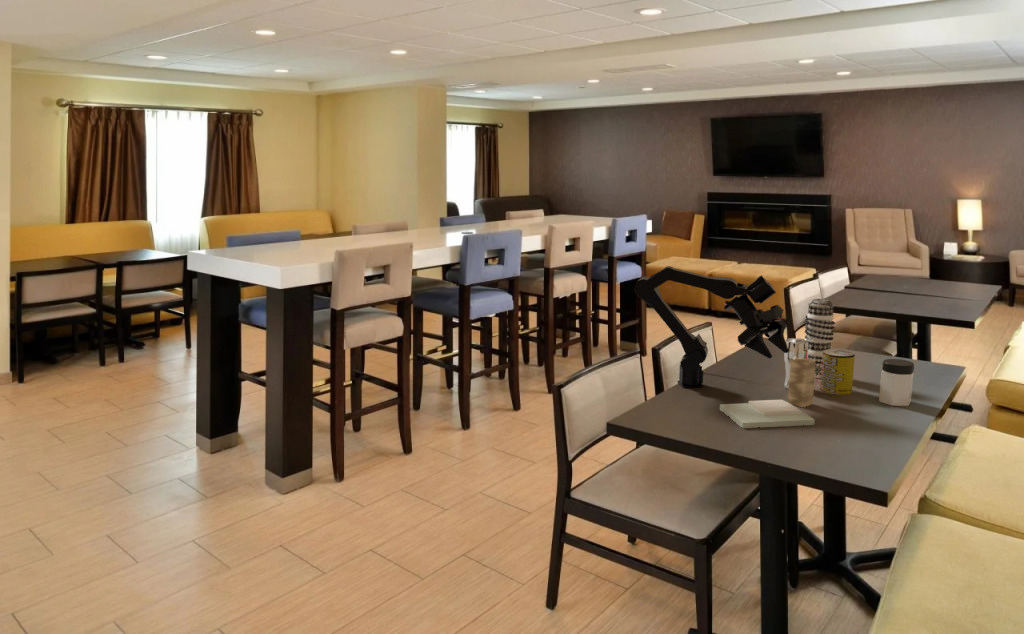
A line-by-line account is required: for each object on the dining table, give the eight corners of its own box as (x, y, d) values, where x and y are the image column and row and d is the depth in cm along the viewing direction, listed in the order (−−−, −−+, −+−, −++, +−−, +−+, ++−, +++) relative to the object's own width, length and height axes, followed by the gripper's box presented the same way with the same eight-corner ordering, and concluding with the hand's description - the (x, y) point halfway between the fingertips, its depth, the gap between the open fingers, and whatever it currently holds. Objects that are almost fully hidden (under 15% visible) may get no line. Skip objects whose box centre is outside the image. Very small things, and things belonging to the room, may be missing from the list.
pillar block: (787, 403, 224) (790, 360, 222) (796, 400, 228) (799, 357, 225) (803, 407, 221) (806, 363, 218) (812, 404, 224) (815, 360, 221)
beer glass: (807, 391, 236) (811, 343, 233) (783, 390, 238) (786, 342, 235) (803, 384, 243) (807, 338, 240) (780, 383, 244) (783, 337, 241)
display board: (742, 428, 204) (742, 419, 203) (719, 409, 219) (720, 401, 219) (814, 425, 206) (815, 416, 206) (786, 406, 222) (787, 398, 221)
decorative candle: (795, 373, 256) (800, 299, 251) (813, 369, 261) (819, 296, 256) (818, 379, 248) (823, 303, 244) (837, 375, 253) (843, 300, 248)
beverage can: (823, 385, 243) (826, 347, 241) (854, 389, 238) (857, 351, 236) (816, 392, 236) (819, 353, 233) (848, 396, 231) (851, 357, 228)
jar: (918, 404, 223) (922, 364, 221) (898, 408, 220) (902, 367, 217) (891, 396, 231) (894, 357, 229) (871, 399, 228) (875, 360, 225)
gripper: (748, 300, 222) (781, 344, 216) (782, 293, 234) (814, 334, 228) (723, 323, 229) (755, 366, 223) (757, 315, 241) (788, 355, 235)
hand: (779, 355), depth 227 cm, fingers open, 9 cm apart
